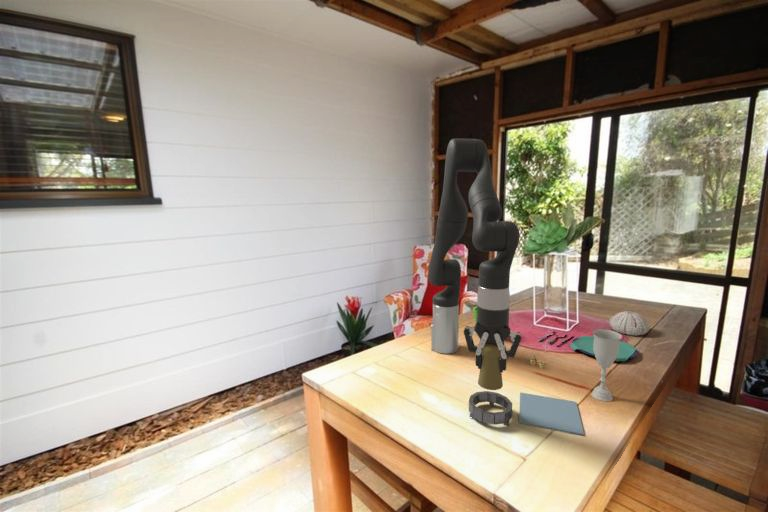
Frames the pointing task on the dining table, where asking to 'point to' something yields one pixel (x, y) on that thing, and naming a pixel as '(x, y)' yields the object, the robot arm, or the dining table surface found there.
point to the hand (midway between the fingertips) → (490, 369)
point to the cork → (490, 368)
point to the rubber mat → (550, 413)
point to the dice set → (539, 362)
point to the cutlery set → (586, 347)
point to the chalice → (605, 358)
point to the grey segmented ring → (491, 398)
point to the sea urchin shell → (629, 323)
